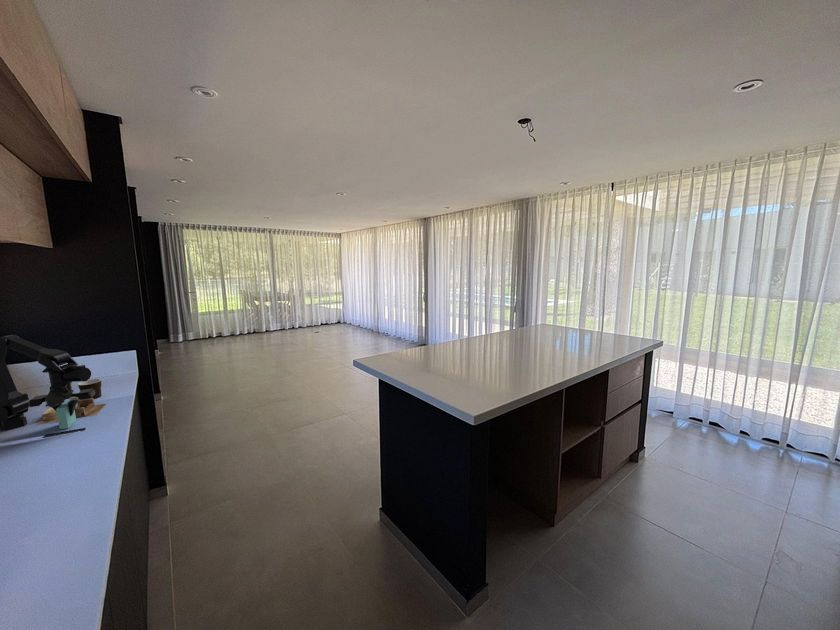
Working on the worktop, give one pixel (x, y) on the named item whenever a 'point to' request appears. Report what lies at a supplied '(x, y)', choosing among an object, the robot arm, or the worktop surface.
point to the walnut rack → (81, 410)
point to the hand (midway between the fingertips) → (66, 416)
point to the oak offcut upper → (49, 413)
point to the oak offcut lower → (50, 418)
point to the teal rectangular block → (65, 416)
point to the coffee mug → (91, 386)
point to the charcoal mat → (63, 432)
